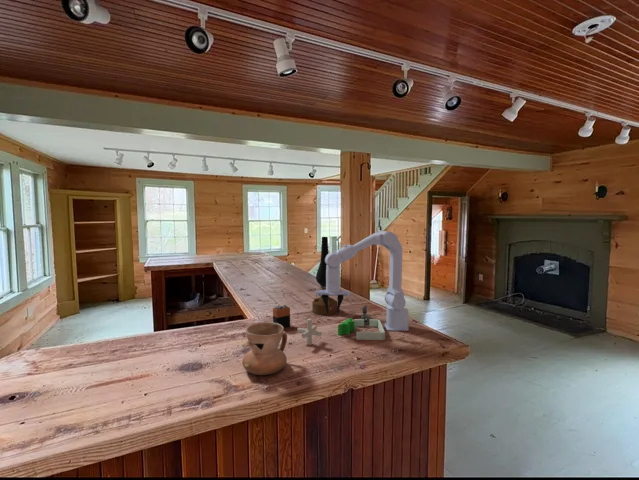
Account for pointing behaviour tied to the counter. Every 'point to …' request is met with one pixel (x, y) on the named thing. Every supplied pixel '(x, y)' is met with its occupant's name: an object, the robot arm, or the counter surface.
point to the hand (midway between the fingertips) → (332, 312)
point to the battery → (282, 315)
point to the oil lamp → (323, 285)
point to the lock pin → (365, 311)
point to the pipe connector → (309, 331)
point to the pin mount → (366, 317)
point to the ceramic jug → (265, 348)
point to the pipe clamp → (346, 327)
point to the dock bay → (370, 335)
